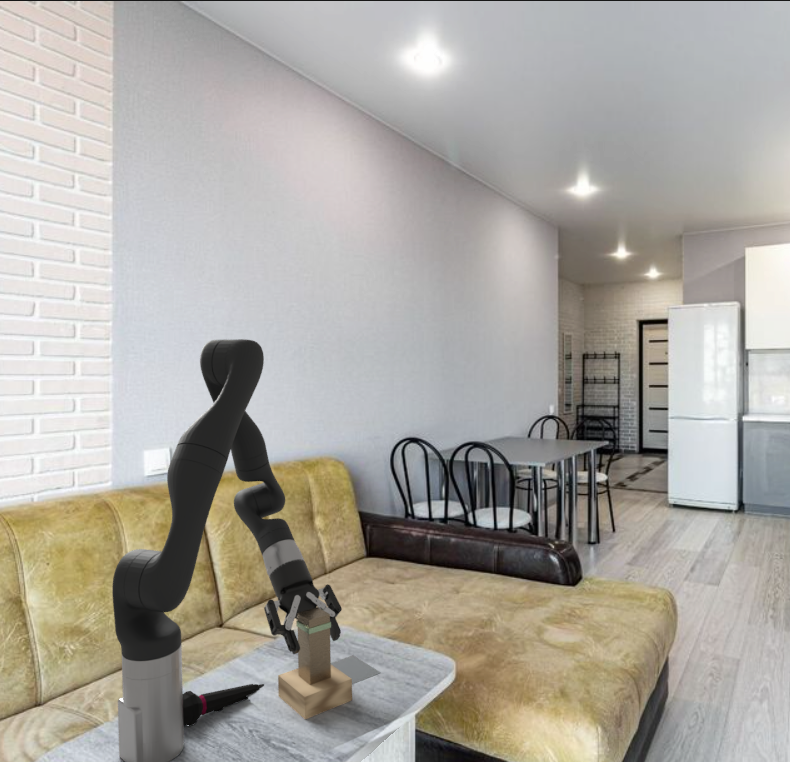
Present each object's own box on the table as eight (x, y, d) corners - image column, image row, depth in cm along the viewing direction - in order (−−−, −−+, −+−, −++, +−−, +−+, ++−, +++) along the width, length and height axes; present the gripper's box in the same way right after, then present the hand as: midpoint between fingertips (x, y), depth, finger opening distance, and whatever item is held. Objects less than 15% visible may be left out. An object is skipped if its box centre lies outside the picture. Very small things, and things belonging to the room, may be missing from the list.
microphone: (263, 700, 125) (167, 730, 111) (261, 669, 127) (165, 694, 113) (279, 701, 122) (181, 732, 108) (276, 669, 123) (180, 695, 109)
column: (309, 685, 114) (308, 620, 114) (297, 675, 118) (296, 612, 118) (331, 677, 117) (330, 614, 117) (319, 668, 121) (317, 606, 121)
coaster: (339, 694, 121) (339, 688, 121) (312, 674, 129) (312, 669, 129) (381, 677, 127) (380, 672, 127) (353, 659, 135) (353, 655, 135)
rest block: (305, 724, 111) (304, 696, 111) (278, 701, 119) (278, 675, 119) (352, 705, 117) (351, 678, 117) (324, 684, 125) (323, 659, 125)
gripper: (259, 566, 119) (290, 647, 110) (324, 551, 127) (357, 625, 119) (248, 586, 123) (276, 665, 114) (311, 570, 132) (342, 643, 123)
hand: (317, 645), depth 116 cm, fingers open, 8 cm apart
